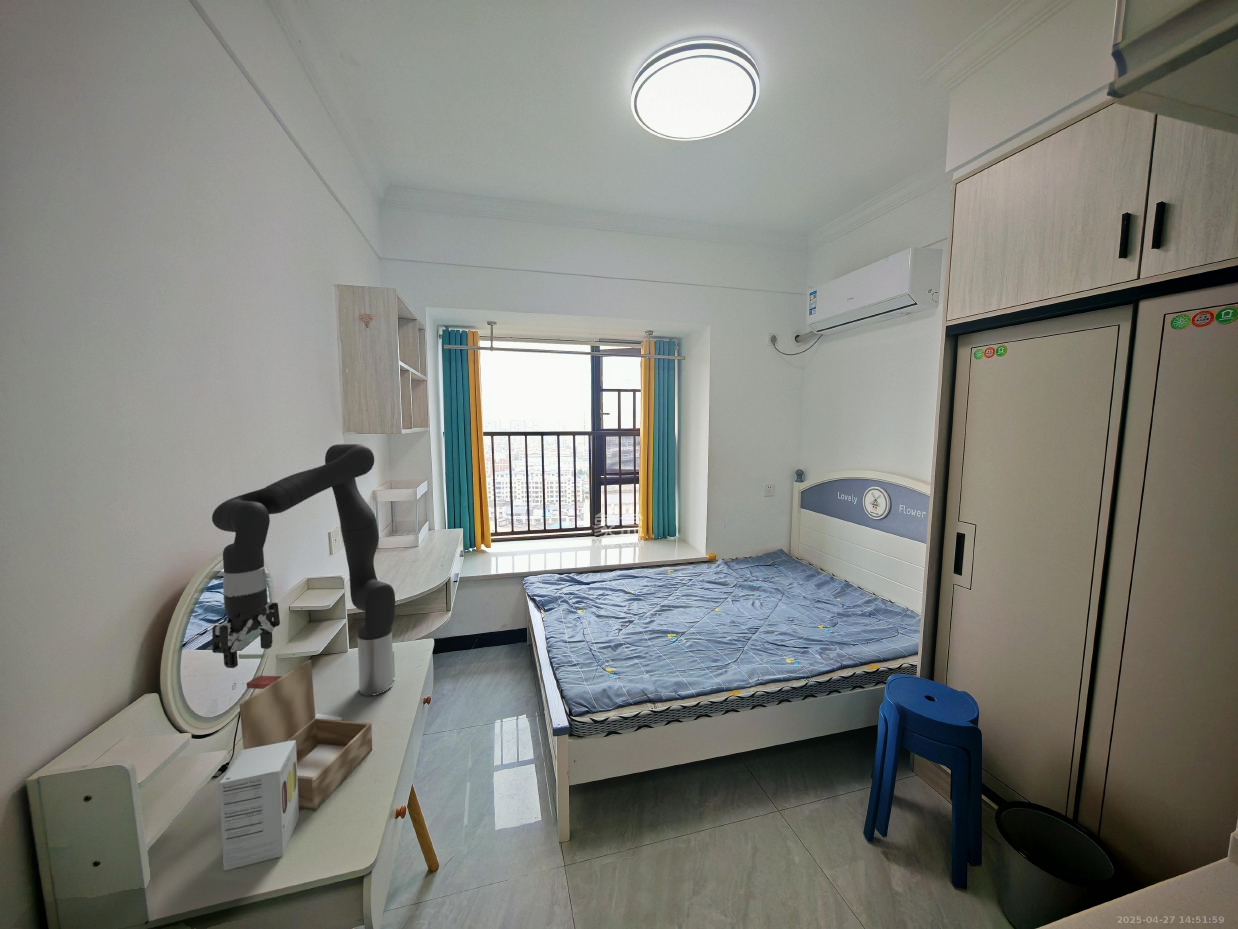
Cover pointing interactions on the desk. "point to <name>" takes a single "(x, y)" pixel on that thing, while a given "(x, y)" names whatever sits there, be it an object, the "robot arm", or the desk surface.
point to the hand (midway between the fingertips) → (249, 657)
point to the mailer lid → (278, 707)
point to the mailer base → (337, 764)
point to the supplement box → (259, 804)
